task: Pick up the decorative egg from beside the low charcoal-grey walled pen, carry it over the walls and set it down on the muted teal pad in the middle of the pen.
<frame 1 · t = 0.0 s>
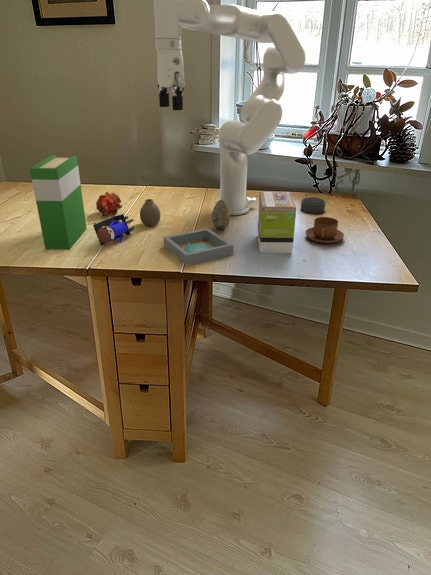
hand: (170, 108, 137), 37 cm above the table, tool pointing down, fingers open, 9 cm apart
character figurine: (116, 241, 138), on the table
smart speaker: (312, 210, 166), on the table
vase: (150, 225, 150), on the table
cup and saucer: (323, 239, 141), on the table
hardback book: (67, 239, 139), on the table
decorative egg: (220, 229, 147), on the table
tea box: (273, 244, 137), on the table
walled pen: (197, 250, 132), on the table
dragon fruit: (109, 215, 159), on the table
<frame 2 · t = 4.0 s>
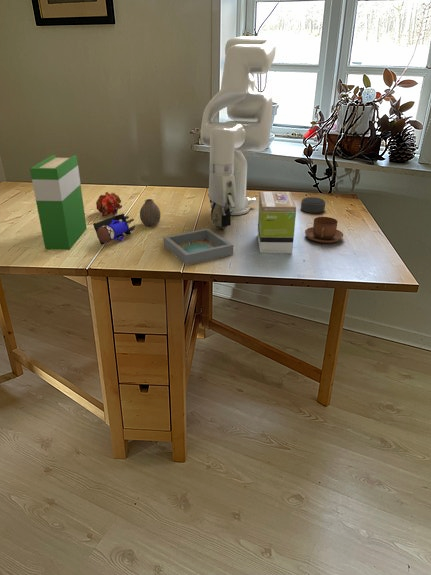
hand: (220, 222, 146), 2 cm above the table, tool pointing down, fingers closed on decorative egg, 6 cm apart
decorative egg: (220, 229, 147), on the table, touching gripper
everything else where it was.
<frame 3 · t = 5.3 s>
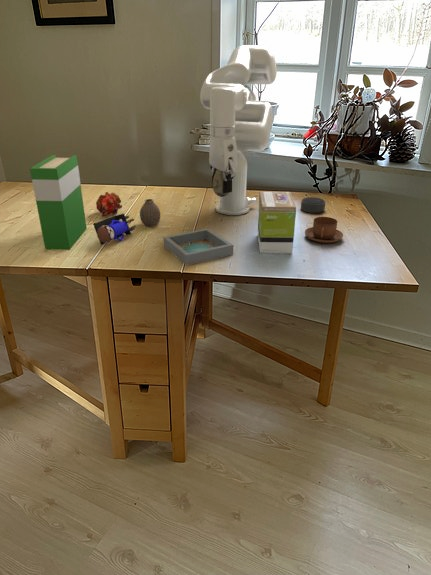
hand: (221, 189, 142), 13 cm above the table, tool pointing down, fingers closed on decorative egg, 6 cm apart
decorative egg: (221, 197, 143), point 11 cm above the table, touching gripper
everything else where it was.
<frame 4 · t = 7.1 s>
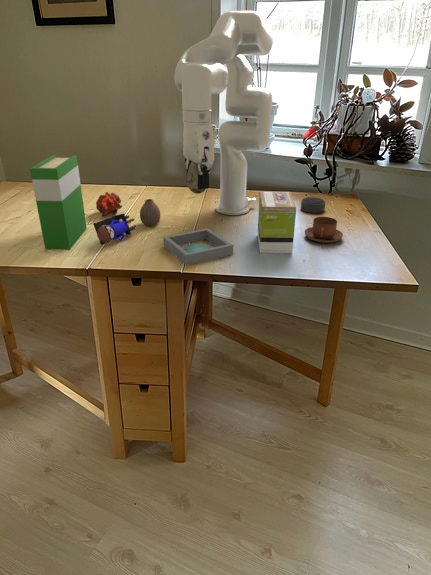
hand: (197, 185, 122), 20 cm above the table, tool pointing down, fingers closed on decorative egg, 6 cm apart
decorative egg: (197, 193, 124), point 17 cm above the table, touching gripper
everything else where it was.
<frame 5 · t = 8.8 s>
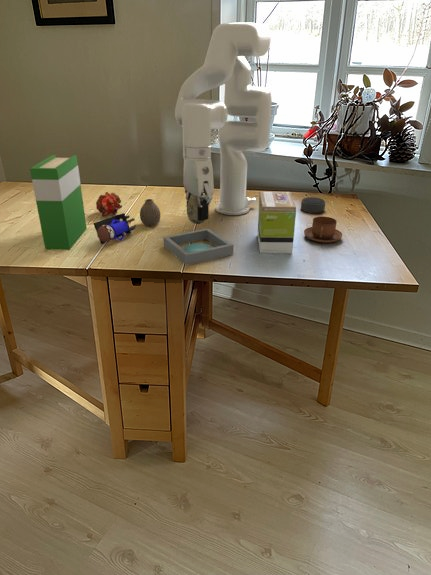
hand: (197, 216, 126), 11 cm above the table, tool pointing down, fingers closed on decorative egg, 6 cm apart
decorative egg: (197, 224, 127), point 8 cm above the table, touching gripper
everything else where it was.
when the fingers open (5 cm above the table, at t = 10.8 s): decorative egg drops 2 cm, resting on walled pen.
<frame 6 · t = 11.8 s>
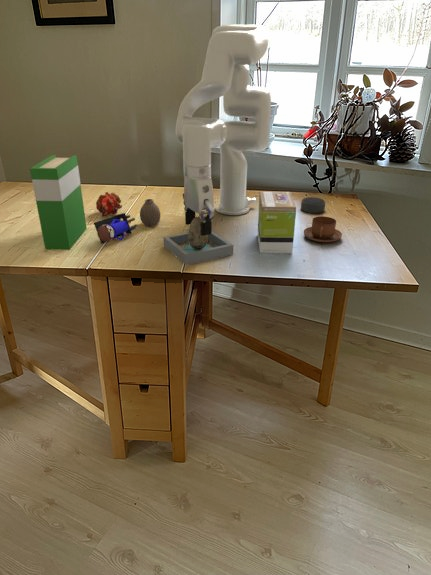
hand: (198, 229, 129), 7 cm above the table, tool pointing down, fingers open, 9 cm apart
decorative egg: (198, 249, 132), resting on walled pen
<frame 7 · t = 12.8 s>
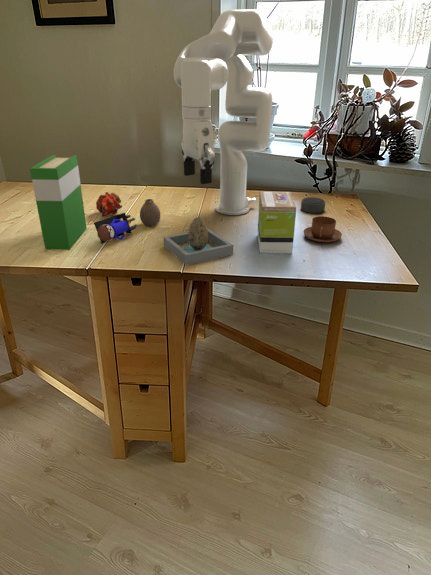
hand: (197, 179, 122), 21 cm above the table, tool pointing down, fingers open, 9 cm apart
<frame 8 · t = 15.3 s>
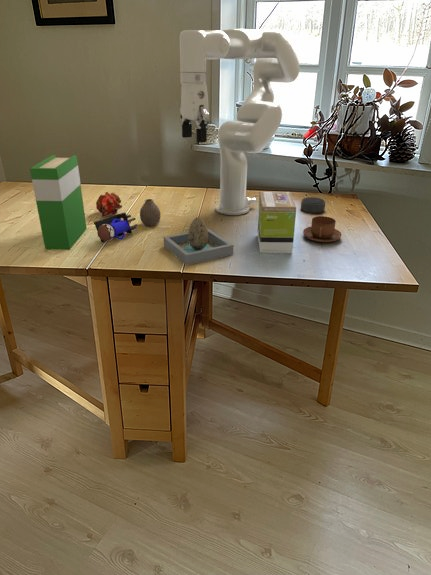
hand: (194, 139, 137), 28 cm above the table, tool pointing down, fingers open, 9 cm apart
at the end: decorative egg 0.1 cm off-centre on the walled pen, point 0.1 cm above the walled pen's base; the gripper is holding nothing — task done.
